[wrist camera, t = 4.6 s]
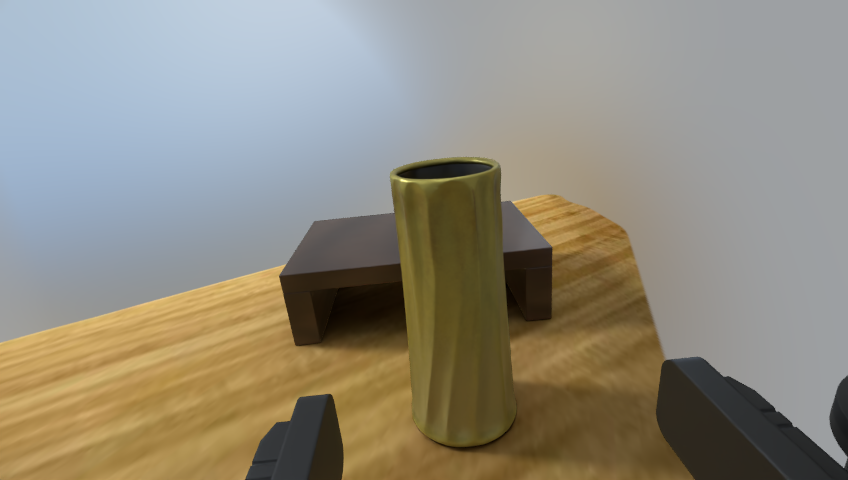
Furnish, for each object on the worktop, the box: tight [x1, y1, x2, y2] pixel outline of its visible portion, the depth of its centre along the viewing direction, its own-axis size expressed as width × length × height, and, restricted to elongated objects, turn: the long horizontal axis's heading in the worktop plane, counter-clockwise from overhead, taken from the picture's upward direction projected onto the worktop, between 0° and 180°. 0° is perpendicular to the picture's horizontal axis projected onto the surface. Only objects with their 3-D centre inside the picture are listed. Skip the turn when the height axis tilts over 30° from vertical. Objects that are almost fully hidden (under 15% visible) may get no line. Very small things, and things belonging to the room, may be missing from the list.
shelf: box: [279, 201, 552, 345], centre depth 38 cm, size 20×13×6 cm, turn 93°
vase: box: [390, 157, 517, 447], centre depth 23 cm, size 6×6×14 cm
